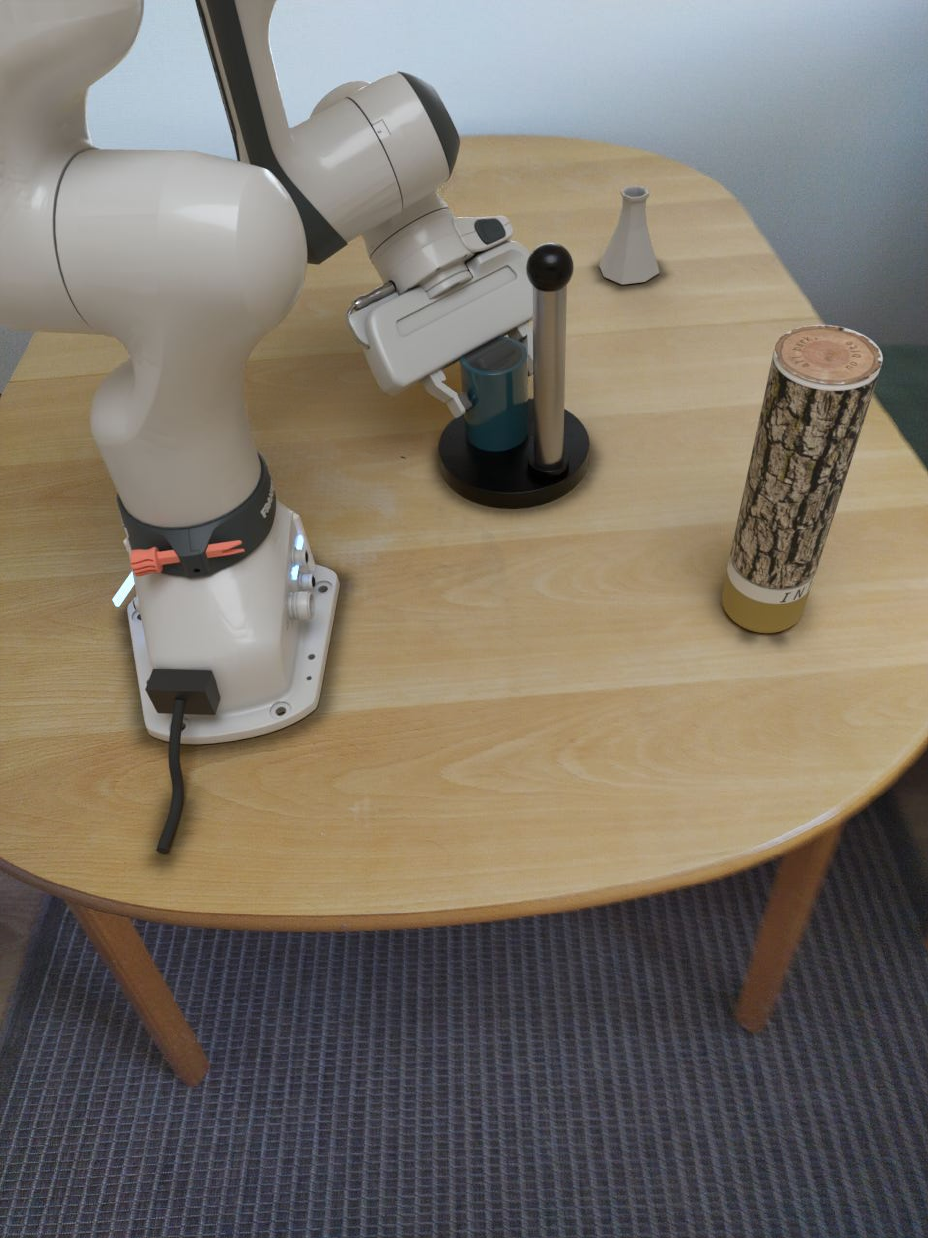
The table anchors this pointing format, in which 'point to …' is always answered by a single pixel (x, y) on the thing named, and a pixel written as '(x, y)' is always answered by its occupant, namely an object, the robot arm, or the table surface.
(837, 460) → the paper tube
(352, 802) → the table surface
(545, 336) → the towel holder
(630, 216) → the flask
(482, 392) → the cup
